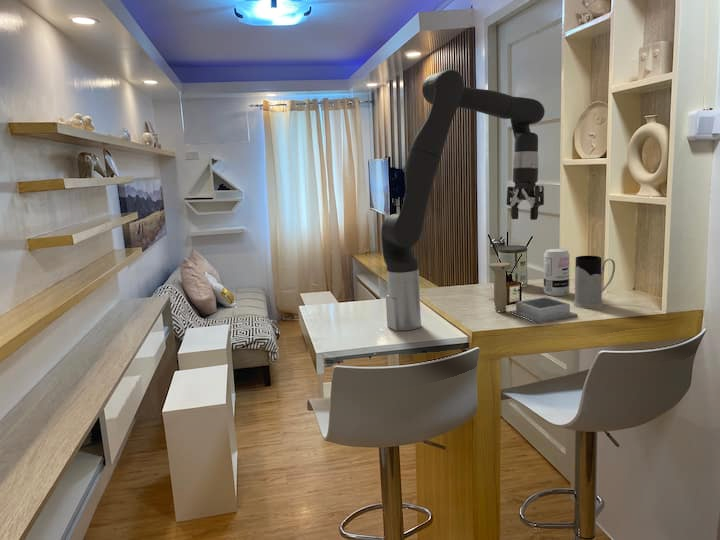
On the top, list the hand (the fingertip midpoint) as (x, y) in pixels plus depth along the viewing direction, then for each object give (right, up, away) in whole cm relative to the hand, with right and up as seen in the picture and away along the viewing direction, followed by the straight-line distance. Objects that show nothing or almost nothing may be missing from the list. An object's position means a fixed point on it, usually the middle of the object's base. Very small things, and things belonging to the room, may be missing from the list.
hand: (524, 219), depth 188 cm
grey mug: (+23, -27, +1) cm, 35 cm away
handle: (-8, -29, -1) cm, 30 cm away
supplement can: (+16, -24, +16) cm, 33 cm away
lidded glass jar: (+5, -22, +32) cm, 39 cm away
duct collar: (+4, -29, -7) cm, 30 cm away
